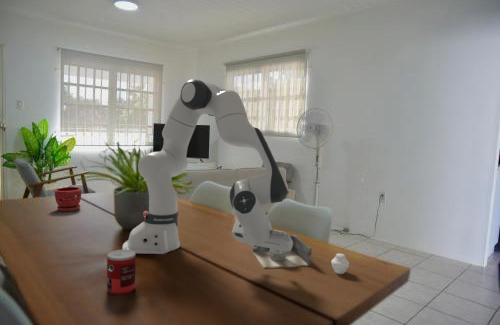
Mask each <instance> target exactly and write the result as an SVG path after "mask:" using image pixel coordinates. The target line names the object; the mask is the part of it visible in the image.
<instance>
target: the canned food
mask: <svg viewBox="0 0 500 325" xmlns="http://www.w3.org/2000/svg"><path fill="white" fill-rule="evenodd" d="M136 254H137V253H135V252H134V251H132V250H126V249H122V248H121V249H116V250H112V251H110V252H108V253H107V256H106V289H107V292H108V293H109V294H110V295H114V294H116V296H120V295H121V296H123V295H127V294H131V293H132V292H133V291H134V290H135V287H136V265H137V264H136V263H137V262H136V260H137V259H136V256H137V255H136ZM122 294H123V295H122Z"/></svg>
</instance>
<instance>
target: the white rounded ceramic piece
mask: <svg viewBox="0 0 500 325" xmlns="http://www.w3.org/2000/svg"><path fill="white" fill-rule="evenodd" d="M346 257H347V256H346V255H345V254H344V253H336V254H335V256H334V258H332V260H331V266H332V268H333V271H334V273H335V274H337V275H343V274H345V272H346V271H347V270H348V268H349V266H350V262H349V261H348V259H347V258H346Z"/></svg>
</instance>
